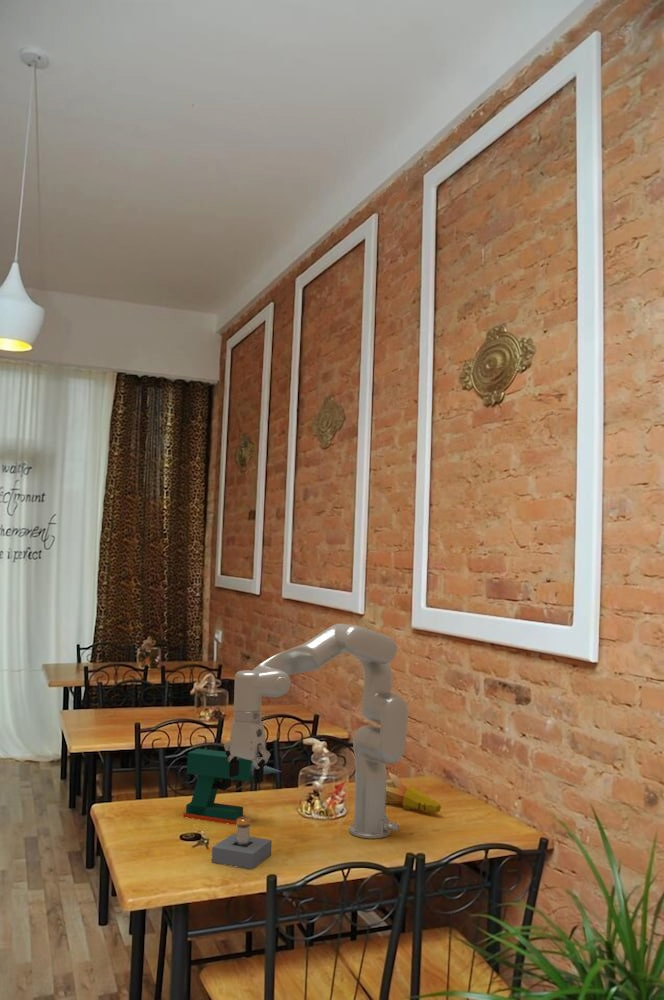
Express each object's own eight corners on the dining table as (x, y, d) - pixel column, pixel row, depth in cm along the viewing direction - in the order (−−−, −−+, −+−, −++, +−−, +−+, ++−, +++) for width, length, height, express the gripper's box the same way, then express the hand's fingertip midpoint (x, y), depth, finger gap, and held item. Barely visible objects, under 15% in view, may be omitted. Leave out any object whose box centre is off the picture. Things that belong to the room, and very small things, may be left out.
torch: (435, 829, 258) (377, 802, 275) (449, 813, 263) (391, 787, 280) (431, 809, 255) (372, 783, 273) (445, 794, 260) (386, 769, 278)
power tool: (285, 824, 248) (287, 758, 249) (276, 831, 241) (278, 763, 243) (194, 811, 258) (196, 748, 260) (183, 817, 252) (186, 752, 253)
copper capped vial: (242, 855, 220) (244, 815, 221) (252, 858, 218) (253, 818, 219) (232, 858, 217) (233, 818, 218) (241, 862, 215) (243, 821, 216)
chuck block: (271, 854, 221) (271, 839, 221) (252, 869, 210) (252, 853, 210) (232, 848, 225) (233, 833, 226) (211, 862, 214) (212, 847, 214)
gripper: (279, 718, 218) (278, 782, 217) (236, 710, 229) (234, 771, 228) (259, 722, 212) (258, 788, 211) (216, 713, 224) (214, 776, 222)
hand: (245, 779), depth 219 cm, fingers open, 9 cm apart
